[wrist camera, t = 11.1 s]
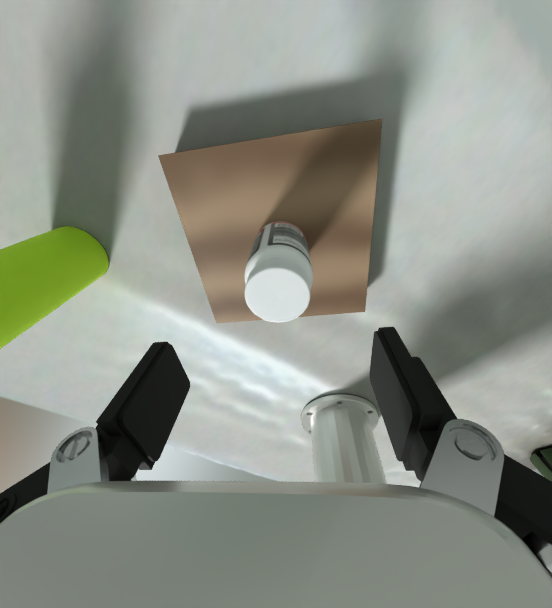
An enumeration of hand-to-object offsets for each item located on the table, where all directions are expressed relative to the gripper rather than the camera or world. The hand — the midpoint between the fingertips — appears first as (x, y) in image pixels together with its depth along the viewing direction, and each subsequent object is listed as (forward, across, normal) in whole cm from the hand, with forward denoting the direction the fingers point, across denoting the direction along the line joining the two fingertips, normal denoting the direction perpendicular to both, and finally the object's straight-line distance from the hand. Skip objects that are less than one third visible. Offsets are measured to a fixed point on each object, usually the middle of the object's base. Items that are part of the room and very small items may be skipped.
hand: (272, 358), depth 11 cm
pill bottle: (+13, 0, -1) cm, 13 cm away
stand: (+16, 0, -1) cm, 16 cm away
